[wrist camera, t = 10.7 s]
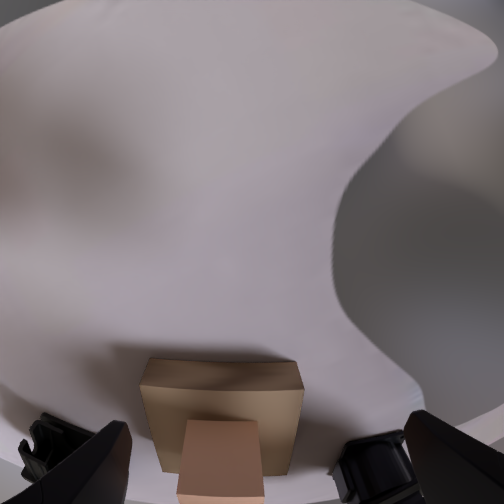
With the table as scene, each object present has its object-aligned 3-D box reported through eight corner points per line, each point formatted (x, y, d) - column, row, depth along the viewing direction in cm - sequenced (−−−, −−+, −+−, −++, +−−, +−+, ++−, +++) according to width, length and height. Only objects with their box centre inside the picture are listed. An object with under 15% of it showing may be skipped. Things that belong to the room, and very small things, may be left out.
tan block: (296, 361, 20) (304, 389, 17) (282, 449, 22) (286, 475, 20) (149, 358, 19) (139, 384, 16) (167, 446, 22) (162, 471, 19)
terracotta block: (257, 421, 17) (264, 496, 12) (255, 458, 19) (260, 525, 13) (187, 419, 17) (176, 494, 11) (193, 457, 18) (187, 523, 13)
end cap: (48, 447, 22) (27, 488, 16) (38, 408, 21) (8, 453, 14) (130, 478, 24) (118, 526, 17) (130, 445, 22) (114, 501, 15)
